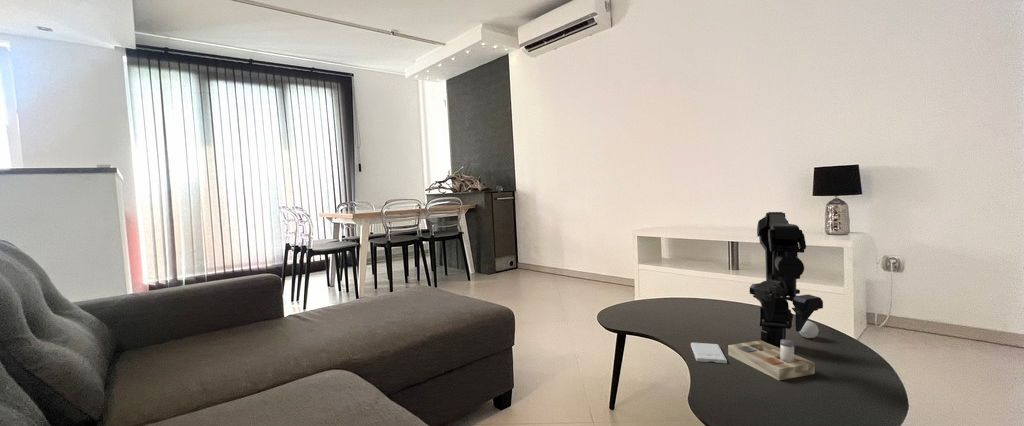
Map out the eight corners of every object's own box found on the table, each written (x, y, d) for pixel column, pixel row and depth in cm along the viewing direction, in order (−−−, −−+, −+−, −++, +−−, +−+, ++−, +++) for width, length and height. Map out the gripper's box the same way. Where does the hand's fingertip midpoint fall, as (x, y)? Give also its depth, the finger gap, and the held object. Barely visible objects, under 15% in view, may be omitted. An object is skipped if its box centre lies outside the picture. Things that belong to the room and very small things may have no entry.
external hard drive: (718, 349, 139) (727, 365, 127) (690, 347, 141) (696, 362, 129) (718, 344, 139) (727, 359, 127) (690, 342, 141) (696, 357, 129)
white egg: (821, 341, 141) (821, 324, 141) (800, 339, 143) (800, 323, 143) (813, 333, 148) (814, 317, 148) (794, 332, 150) (794, 316, 150)
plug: (786, 366, 124) (786, 338, 123) (796, 371, 121) (797, 342, 120) (777, 367, 123) (777, 340, 122) (787, 372, 120) (787, 344, 119)
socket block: (760, 349, 136) (760, 339, 136) (814, 373, 119) (814, 362, 118) (728, 354, 133) (728, 344, 133) (778, 380, 115) (779, 368, 115)
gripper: (734, 266, 128) (734, 319, 129) (791, 280, 110) (790, 341, 111) (765, 263, 131) (764, 315, 132) (825, 276, 113) (823, 335, 114)
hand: (783, 326), depth 122 cm, fingers open, 9 cm apart
